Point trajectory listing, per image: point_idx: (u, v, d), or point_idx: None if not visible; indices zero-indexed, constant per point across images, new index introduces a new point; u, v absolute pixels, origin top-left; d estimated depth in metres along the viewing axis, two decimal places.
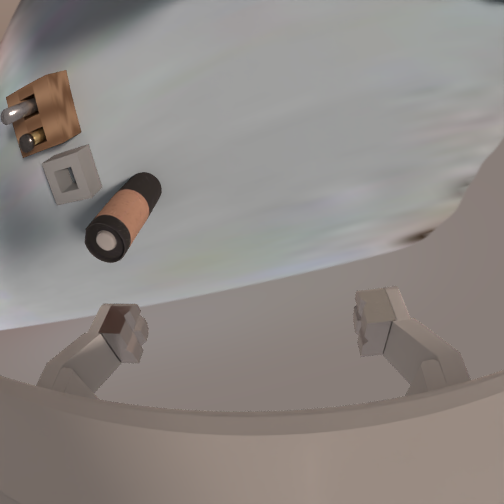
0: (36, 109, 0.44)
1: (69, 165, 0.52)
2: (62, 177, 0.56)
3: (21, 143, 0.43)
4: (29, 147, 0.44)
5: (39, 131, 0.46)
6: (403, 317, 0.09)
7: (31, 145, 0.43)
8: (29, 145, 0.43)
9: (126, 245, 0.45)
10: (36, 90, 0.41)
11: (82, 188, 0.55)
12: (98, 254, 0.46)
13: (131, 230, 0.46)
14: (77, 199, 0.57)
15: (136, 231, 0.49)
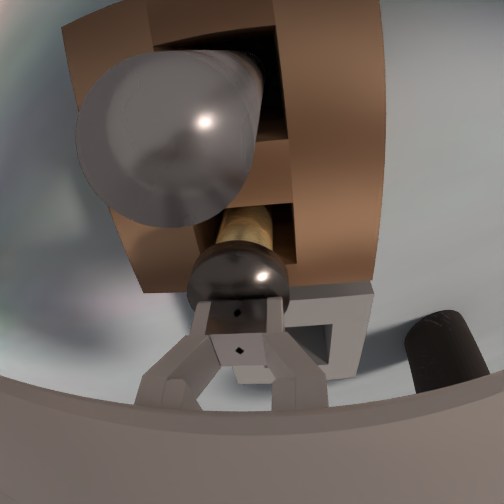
0: None
1: (328, 320, 0.20)
2: None
3: (208, 292, 0.11)
4: None
5: (261, 214, 0.14)
6: (274, 330, 0.09)
7: (285, 311, 0.11)
8: None
9: None
10: (298, 18, 0.08)
11: (340, 364, 0.23)
12: None
13: None
14: None
15: None
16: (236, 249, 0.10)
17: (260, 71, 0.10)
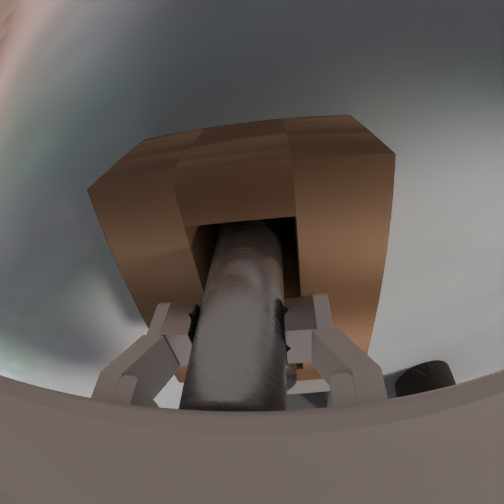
0: None
1: (327, 389, 0.23)
2: None
3: None
4: None
5: None
6: (324, 326, 0.09)
7: (293, 385, 0.16)
8: None
9: None
10: (316, 209, 0.12)
11: None
12: None
13: None
14: None
15: None
16: None
17: (279, 241, 0.14)
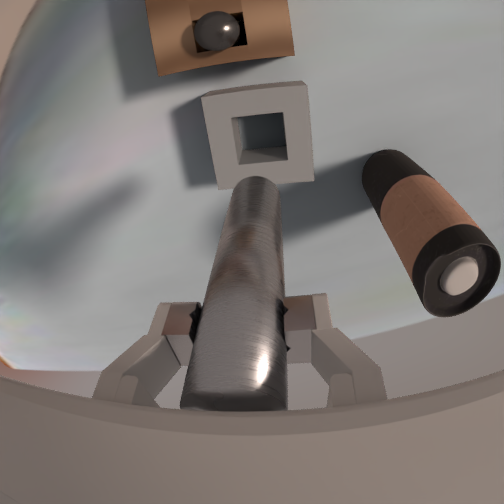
0: None
1: (279, 109, 0.27)
2: (236, 135, 0.31)
3: (203, 28, 0.20)
4: (228, 40, 0.21)
5: None
6: (324, 326, 0.09)
7: (237, 35, 0.20)
8: (229, 35, 0.20)
9: (490, 284, 0.20)
10: None
11: (298, 160, 0.30)
12: (427, 303, 0.22)
13: None
14: (277, 181, 0.32)
15: None
16: None
17: (281, 241, 0.14)
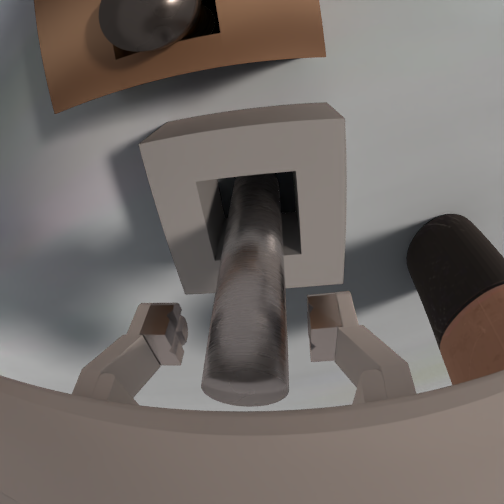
0: None
1: (289, 165, 0.15)
2: (211, 204, 0.18)
3: (117, 5, 0.07)
4: (170, 23, 0.08)
5: None
6: (350, 324, 0.09)
7: (192, 11, 0.08)
8: (173, 12, 0.08)
9: None
10: None
11: (319, 254, 0.18)
12: None
13: None
14: None
15: None
16: None
17: (281, 234, 0.16)
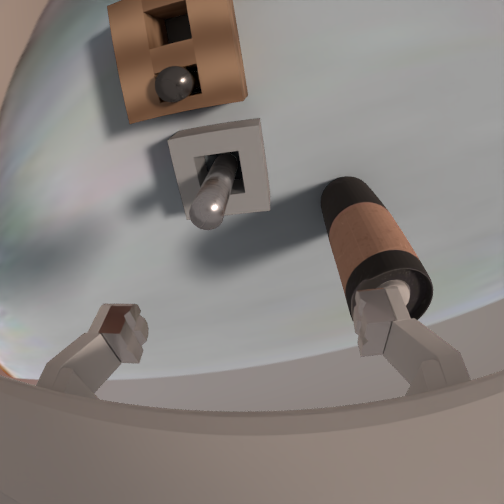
0: None
1: (235, 148, 0.32)
2: (201, 171, 0.36)
3: (162, 83, 0.25)
4: (183, 92, 0.26)
5: None
6: (403, 317, 0.09)
7: (190, 88, 0.26)
8: (184, 88, 0.26)
9: (426, 304, 0.24)
10: None
11: (254, 192, 0.35)
12: None
13: None
14: (237, 211, 0.36)
15: None
16: (172, 66, 0.25)
17: (231, 175, 0.33)
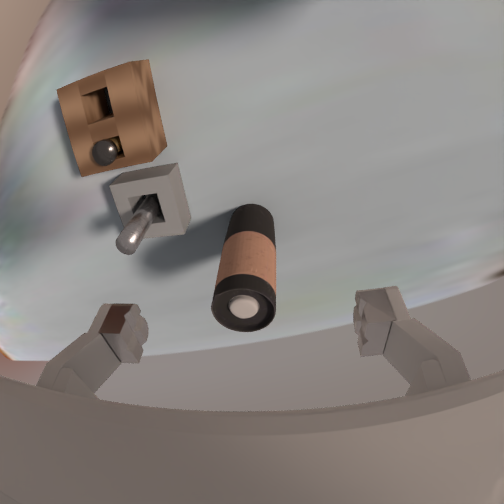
0: (152, 220, 0.46)
1: (154, 191, 0.44)
2: (136, 204, 0.48)
3: (96, 152, 0.37)
4: (110, 159, 0.37)
5: (119, 137, 0.40)
6: (403, 317, 0.09)
7: (114, 156, 0.37)
8: (110, 156, 0.37)
9: (274, 313, 0.36)
10: (111, 83, 0.33)
11: (171, 222, 0.47)
12: (226, 321, 0.38)
13: (275, 291, 0.38)
14: (161, 235, 0.48)
15: None
16: (102, 140, 0.36)
17: (153, 211, 0.45)
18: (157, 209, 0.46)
